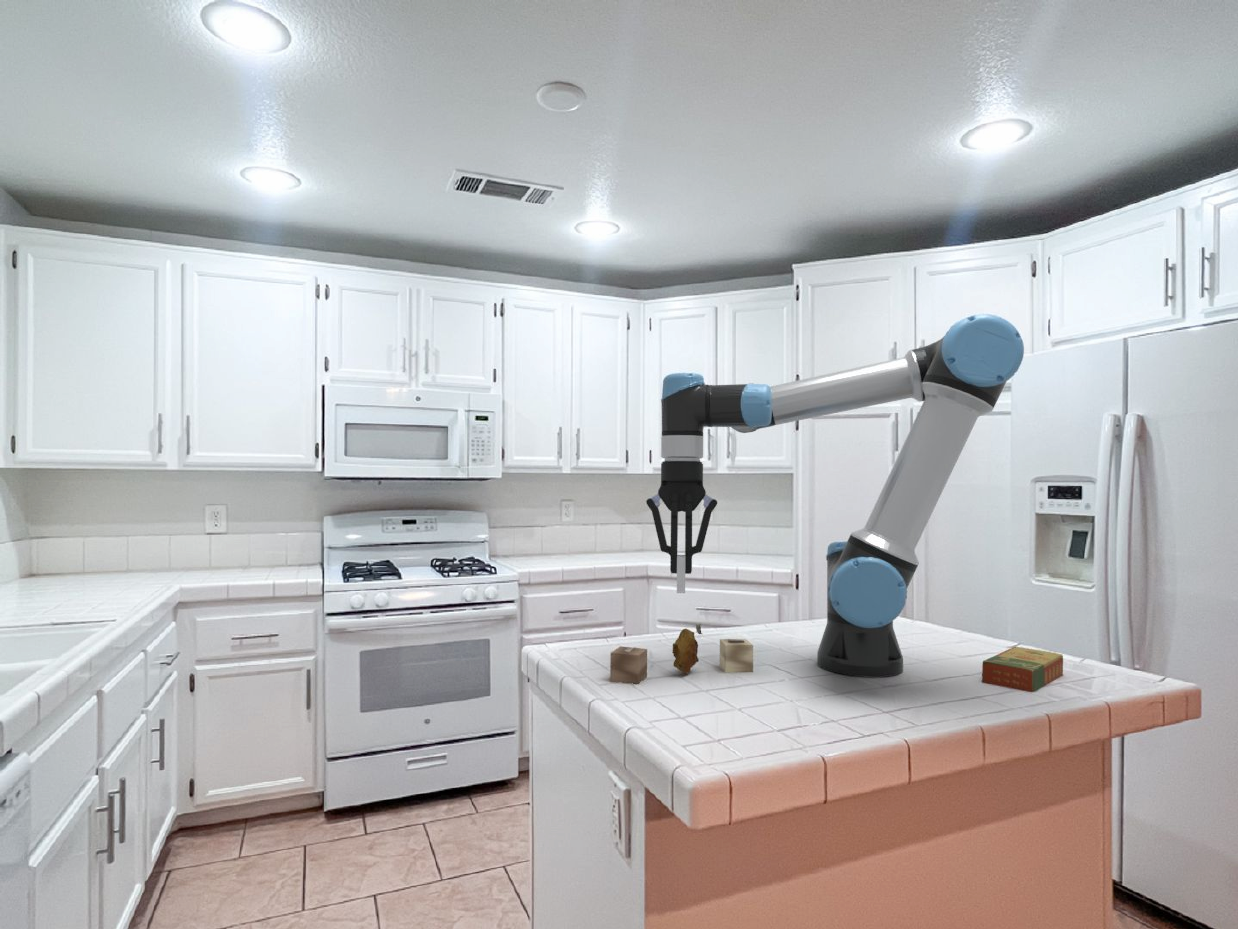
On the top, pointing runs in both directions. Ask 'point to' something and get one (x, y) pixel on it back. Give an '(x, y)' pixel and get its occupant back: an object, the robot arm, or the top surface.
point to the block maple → (736, 656)
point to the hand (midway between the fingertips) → (680, 591)
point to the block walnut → (628, 665)
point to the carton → (1022, 669)
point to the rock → (686, 650)
